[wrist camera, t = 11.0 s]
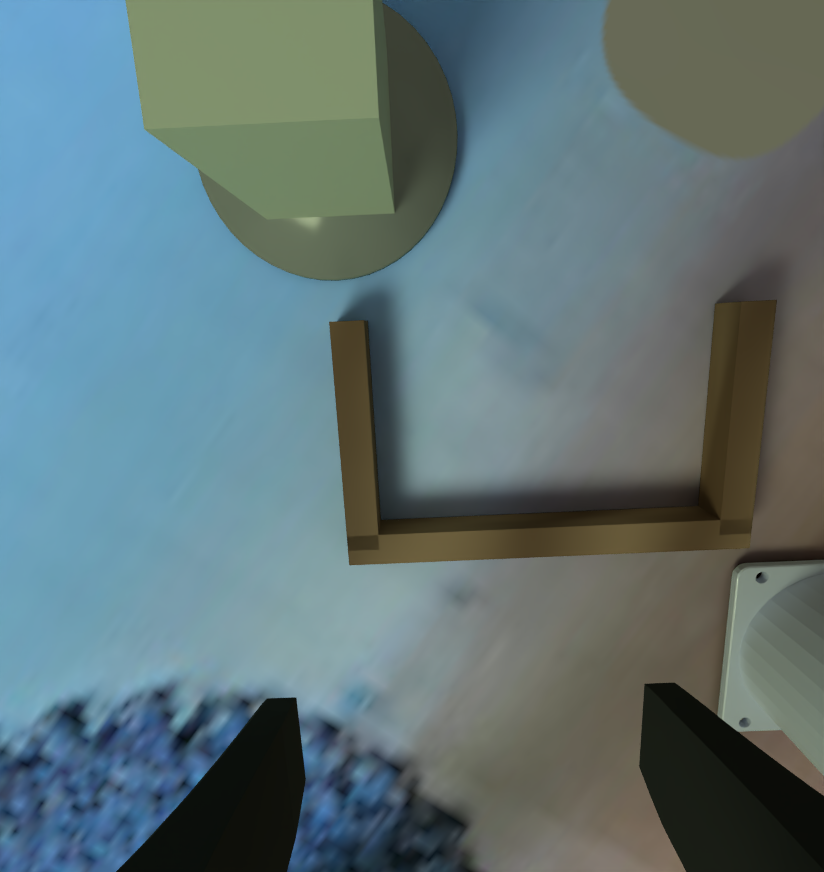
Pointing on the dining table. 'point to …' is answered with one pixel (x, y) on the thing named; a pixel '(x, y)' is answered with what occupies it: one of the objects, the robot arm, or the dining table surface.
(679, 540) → the brown u-shaped frame
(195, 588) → the dining table surface
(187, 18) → the block
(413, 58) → the olive flat disc
